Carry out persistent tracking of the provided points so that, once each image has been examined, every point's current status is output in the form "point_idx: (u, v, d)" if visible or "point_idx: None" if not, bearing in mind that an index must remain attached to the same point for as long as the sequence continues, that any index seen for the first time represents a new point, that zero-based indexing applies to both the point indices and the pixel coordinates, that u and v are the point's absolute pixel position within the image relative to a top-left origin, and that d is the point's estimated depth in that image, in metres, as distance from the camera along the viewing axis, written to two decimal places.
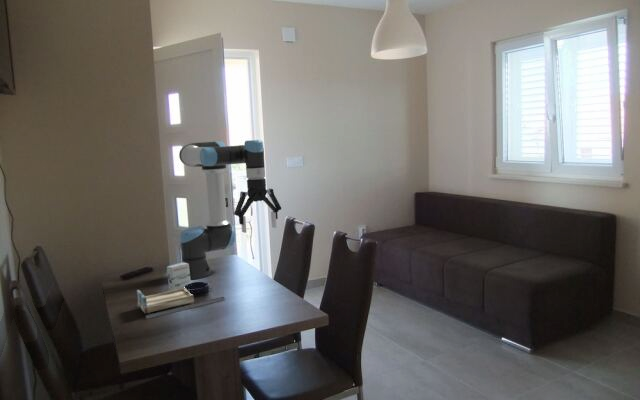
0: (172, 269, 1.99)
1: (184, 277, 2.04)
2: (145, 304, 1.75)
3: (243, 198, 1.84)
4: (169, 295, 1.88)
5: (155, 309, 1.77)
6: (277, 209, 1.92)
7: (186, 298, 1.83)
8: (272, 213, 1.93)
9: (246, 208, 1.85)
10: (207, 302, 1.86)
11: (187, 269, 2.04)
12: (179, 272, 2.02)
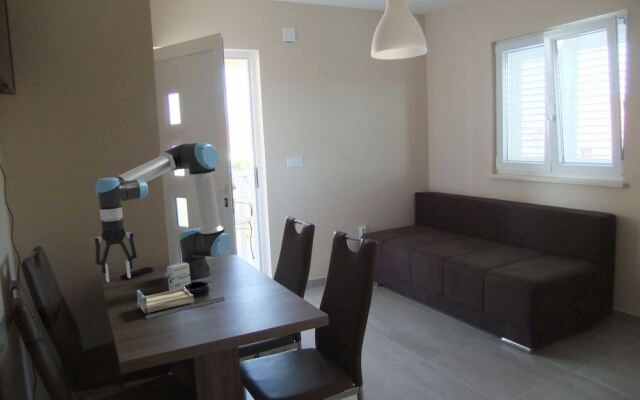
0: (172, 269, 1.99)
1: (184, 277, 2.04)
2: (145, 304, 1.75)
3: (97, 245, 1.68)
4: (169, 295, 1.88)
5: (155, 309, 1.77)
6: (131, 258, 1.75)
7: (186, 298, 1.83)
8: (126, 262, 1.75)
9: (105, 255, 1.70)
10: (207, 302, 1.86)
11: (187, 269, 2.04)
12: (179, 272, 2.02)
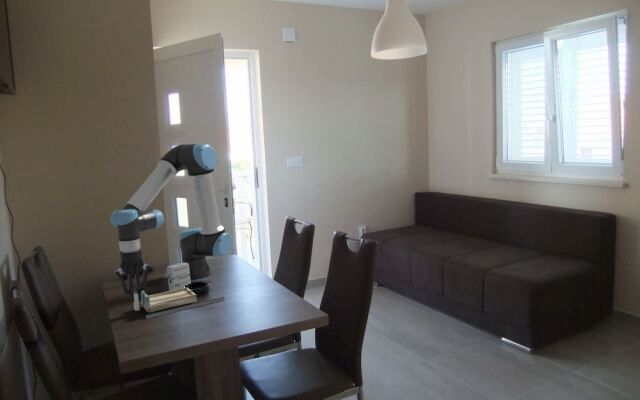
0: (172, 269, 1.99)
1: (184, 277, 2.04)
2: (148, 303, 1.75)
3: (120, 277, 1.74)
4: (172, 294, 1.89)
5: (158, 308, 1.78)
6: (140, 291, 1.78)
7: (189, 297, 1.84)
8: None
9: (131, 285, 1.76)
10: (207, 302, 1.86)
11: (187, 269, 2.04)
12: (179, 272, 2.02)
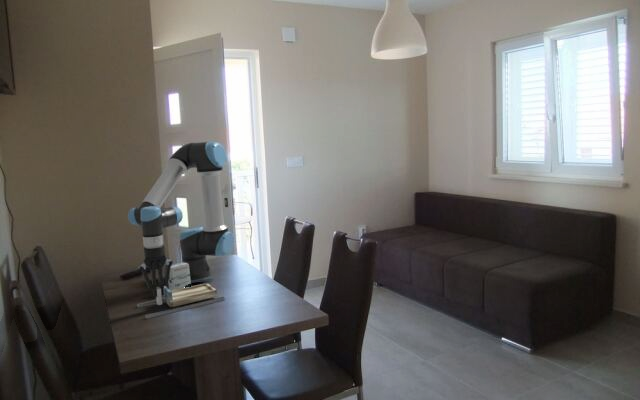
0: (172, 269, 1.99)
1: (184, 277, 2.04)
2: (171, 298, 1.80)
3: (144, 272, 1.78)
4: (192, 290, 1.93)
5: (180, 303, 1.82)
6: (163, 286, 1.83)
7: (210, 293, 1.88)
8: None
9: (154, 279, 1.81)
10: (207, 302, 1.86)
11: (187, 269, 2.04)
12: (179, 272, 2.02)
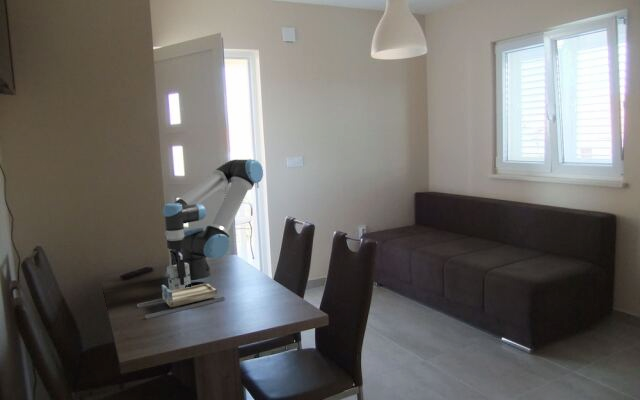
0: (172, 269, 1.99)
1: (184, 277, 2.04)
2: (171, 298, 1.80)
3: (171, 256, 2.07)
4: (192, 290, 1.93)
5: (180, 303, 1.82)
6: (179, 276, 1.99)
7: (210, 293, 1.88)
8: None
9: None
10: (207, 302, 1.86)
11: (187, 269, 2.04)
12: None
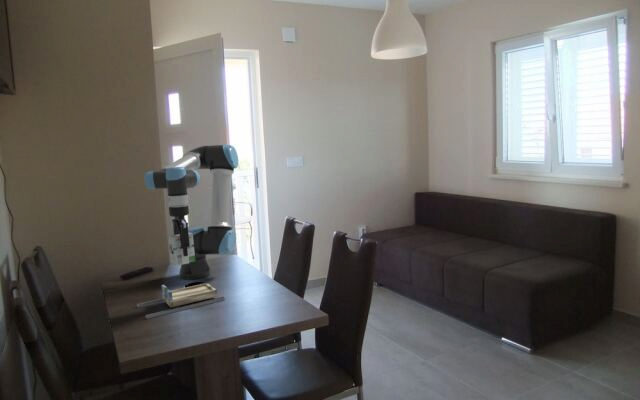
0: (174, 238, 1.82)
1: (188, 248, 1.86)
2: (171, 298, 1.80)
3: (173, 225, 1.90)
4: (192, 290, 1.93)
5: (180, 303, 1.82)
6: (182, 246, 1.82)
7: (210, 293, 1.88)
8: None
9: None
10: (207, 302, 1.86)
11: (190, 239, 1.87)
12: None
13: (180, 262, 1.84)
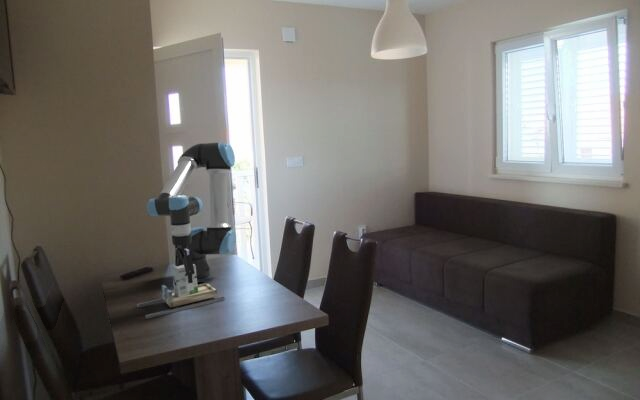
0: (177, 270, 1.84)
1: None
2: (171, 298, 1.80)
3: (175, 250, 1.92)
4: None
5: (180, 303, 1.82)
6: (186, 273, 1.81)
7: (210, 293, 1.88)
8: None
9: (177, 261, 1.91)
10: (207, 302, 1.86)
11: None
12: (185, 273, 1.86)
13: (183, 293, 1.86)
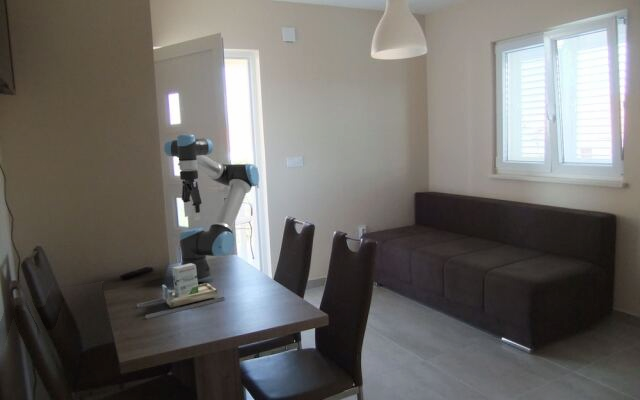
0: (177, 270, 1.84)
1: (191, 279, 1.88)
2: (171, 298, 1.80)
3: (182, 186, 2.07)
4: None
5: (181, 303, 1.82)
6: (194, 203, 1.96)
7: (210, 293, 1.89)
8: None
9: (184, 195, 2.07)
10: (207, 302, 1.86)
11: (193, 271, 1.88)
12: (185, 273, 1.86)
13: (183, 293, 1.86)
